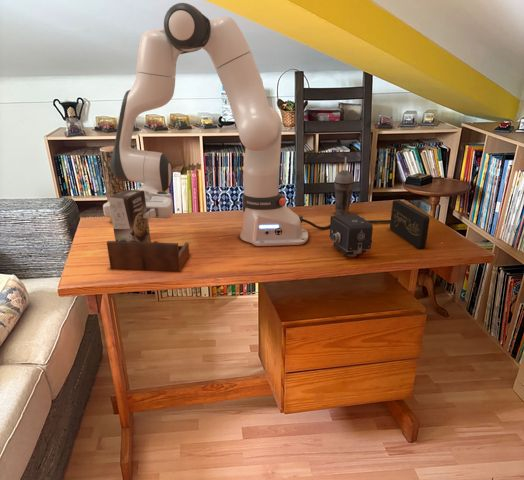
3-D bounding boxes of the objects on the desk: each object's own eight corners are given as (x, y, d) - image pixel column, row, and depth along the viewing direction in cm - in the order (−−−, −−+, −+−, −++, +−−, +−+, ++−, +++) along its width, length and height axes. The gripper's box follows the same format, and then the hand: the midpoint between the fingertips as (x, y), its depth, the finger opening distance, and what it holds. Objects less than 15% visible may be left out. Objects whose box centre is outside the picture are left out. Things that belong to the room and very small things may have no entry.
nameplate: (389, 228, 184) (393, 199, 179) (394, 228, 185) (398, 199, 179) (419, 249, 167) (424, 217, 162) (424, 248, 167) (430, 217, 162)
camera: (374, 261, 161) (351, 240, 172) (380, 225, 154) (356, 206, 166) (342, 265, 158) (321, 244, 169) (347, 229, 151) (325, 209, 163)
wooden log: (132, 218, 195) (123, 146, 182) (126, 224, 189) (116, 150, 176) (114, 218, 195) (103, 146, 183) (107, 224, 190) (96, 149, 177)
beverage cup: (331, 216, 197) (335, 159, 187) (332, 210, 203) (336, 155, 193) (351, 216, 196) (356, 159, 186) (351, 211, 202) (356, 155, 192)
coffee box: (135, 255, 152) (127, 198, 144) (116, 253, 154) (106, 196, 146) (152, 244, 160) (145, 190, 151) (133, 242, 162) (125, 188, 153)
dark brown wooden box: (189, 255, 163) (187, 229, 159) (179, 271, 152) (177, 244, 148) (125, 252, 165) (121, 227, 161) (110, 269, 153) (106, 242, 149)
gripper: (110, 192, 163) (93, 205, 151) (176, 193, 161) (164, 206, 150) (113, 212, 166) (97, 227, 155) (178, 214, 165) (166, 228, 153)
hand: (130, 216), depth 152 cm, fingers closed on coffee box, 7 cm apart
